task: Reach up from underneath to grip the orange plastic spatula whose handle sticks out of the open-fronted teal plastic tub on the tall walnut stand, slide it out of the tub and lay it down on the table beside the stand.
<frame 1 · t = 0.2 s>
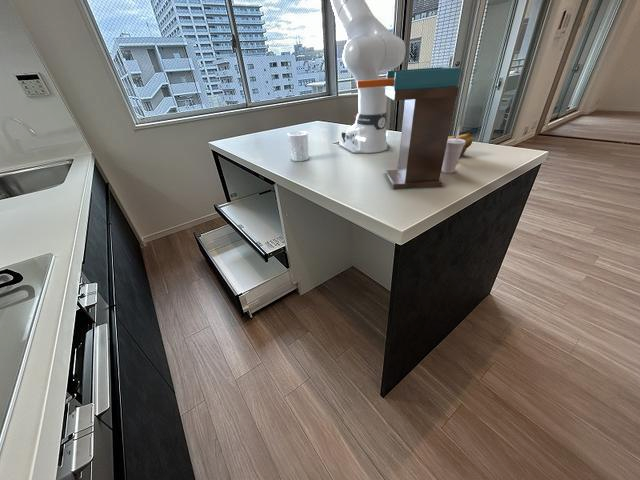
white cup: (300, 159, 108), on the worktop
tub: (419, 86, 68), resting on stand
smoothie: (447, 171, 87), on the worktop
stand: (406, 180, 82), on the worktop
bread roll: (447, 156, 99), on the worktop
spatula: (380, 86, 68), point 26 cm above the worktop, touching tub
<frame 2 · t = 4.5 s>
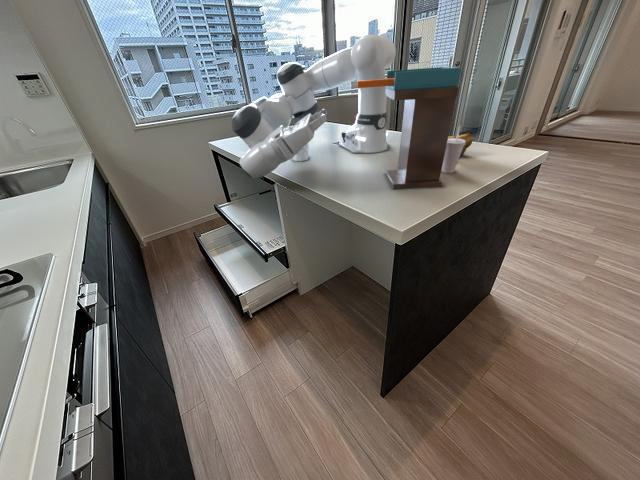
hand: (326, 113, 72), 21 cm above the worktop, tool pointing upward, fingers open, 8 cm apart
nothing on the worktop moved.
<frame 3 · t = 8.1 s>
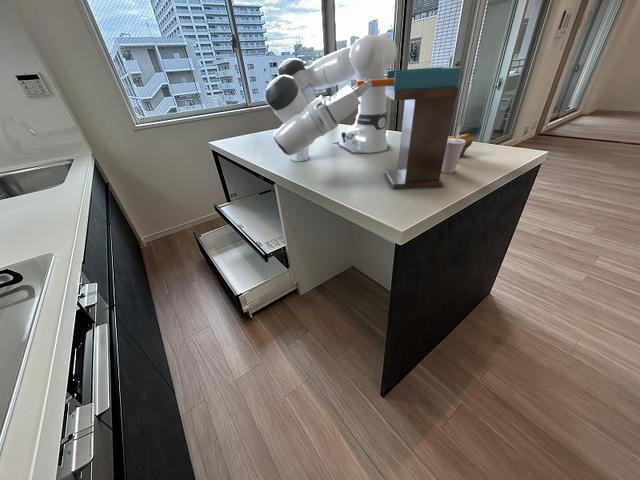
hand: (370, 81, 67), 27 cm above the worktop, tool pointing upward, fingers closed on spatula, 3 cm apart
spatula: (380, 86, 68), point 26 cm above the worktop, touching gripper, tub
everything else where it was.
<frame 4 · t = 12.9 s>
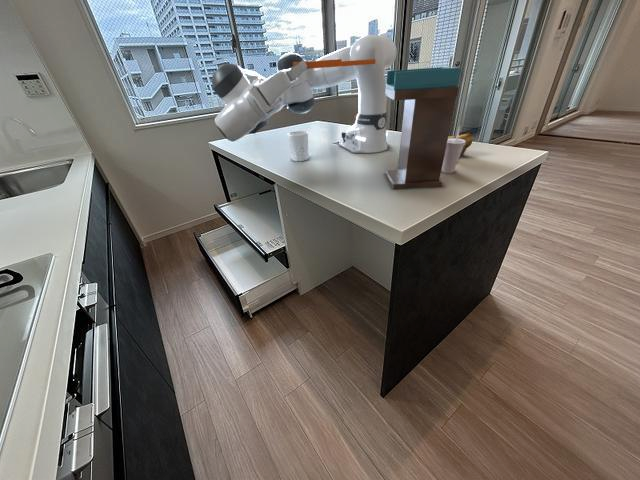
hand: (306, 63, 65), 32 cm above the worktop, tool pointing upward, fingers closed on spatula, 3 cm apart
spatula: (317, 67, 66), point 31 cm above the worktop, touching gripper
everything else where it was.
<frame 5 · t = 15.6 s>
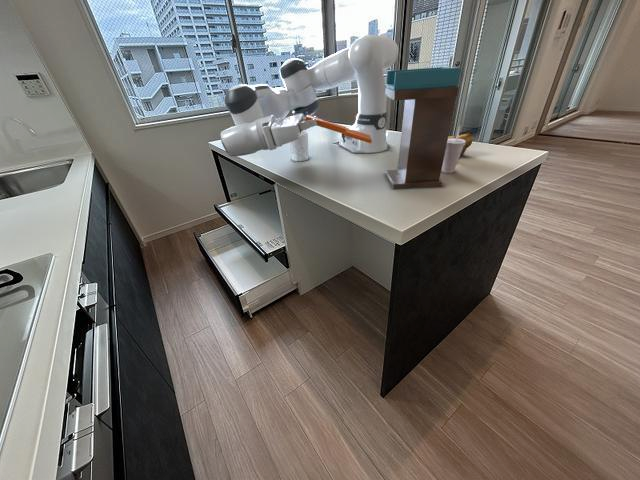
hand: (317, 120, 76), 19 cm above the worktop, tool horizontal, fingers closed on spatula, 3 cm apart
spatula: (324, 127, 77), point 17 cm above the worktop, tilted 19°, touching gripper
everything else where it was.
when the fingers open (9 cm above the worktop, at t = 17.7 s): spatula drops 7 cm, on the worktop.
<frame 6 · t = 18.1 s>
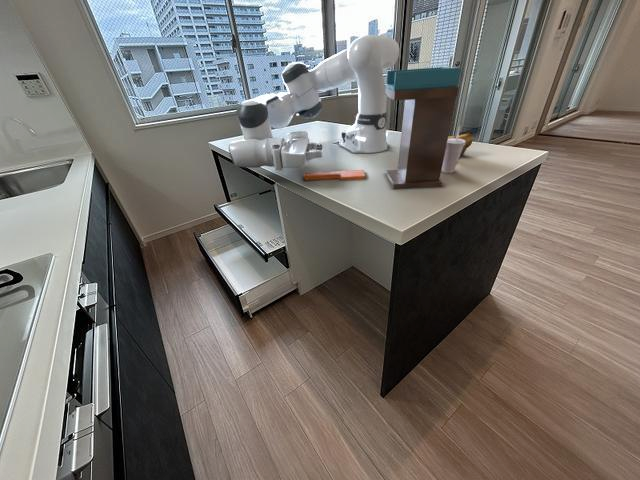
hand: (322, 150, 83), 9 cm above the worktop, tool horizontal, fingers open, 7 cm apart
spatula: (322, 177, 88), on the worktop
everything else where it was.
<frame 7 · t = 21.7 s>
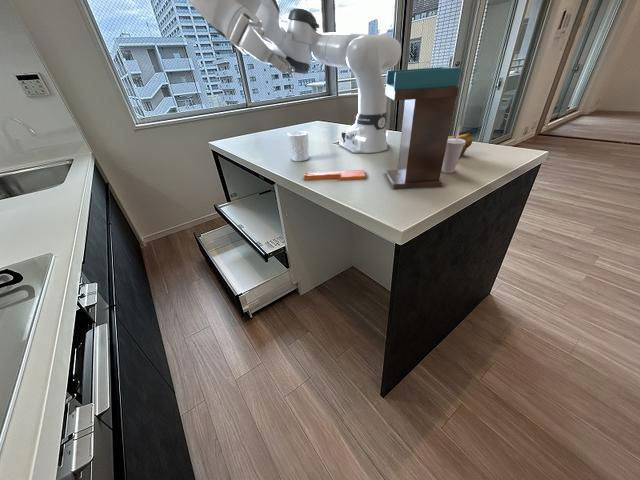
hand: (290, 72, 72), 31 cm above the worktop, tool tilted 50°, fingers open, 8 cm apart
nothing on the worktop moved.
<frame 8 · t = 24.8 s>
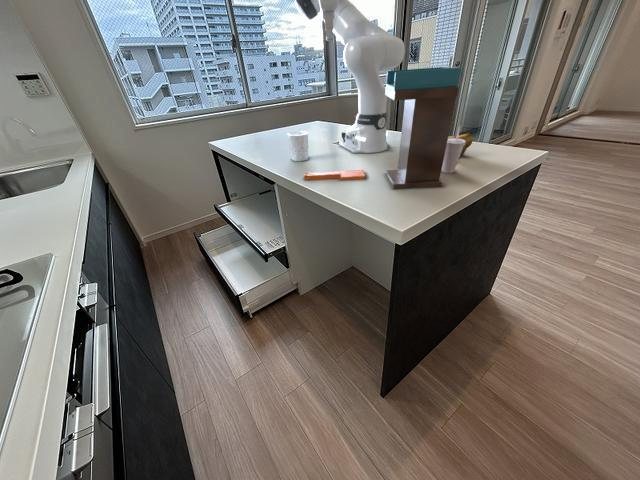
hand: (329, 39, 67), 37 cm above the worktop, tool pointing down, fingers open, 8 cm apart
nothing on the worktop moved.
at the end: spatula on the worktop; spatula touching worktop; the gripper is holding nothing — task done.
